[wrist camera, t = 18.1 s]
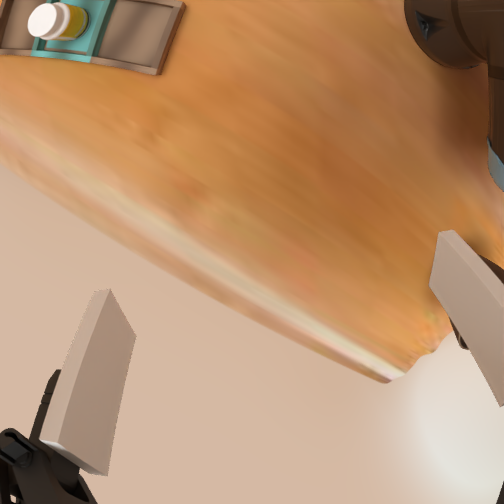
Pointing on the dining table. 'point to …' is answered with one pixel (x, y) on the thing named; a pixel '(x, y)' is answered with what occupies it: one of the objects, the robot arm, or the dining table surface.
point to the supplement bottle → (58, 22)
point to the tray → (99, 33)
